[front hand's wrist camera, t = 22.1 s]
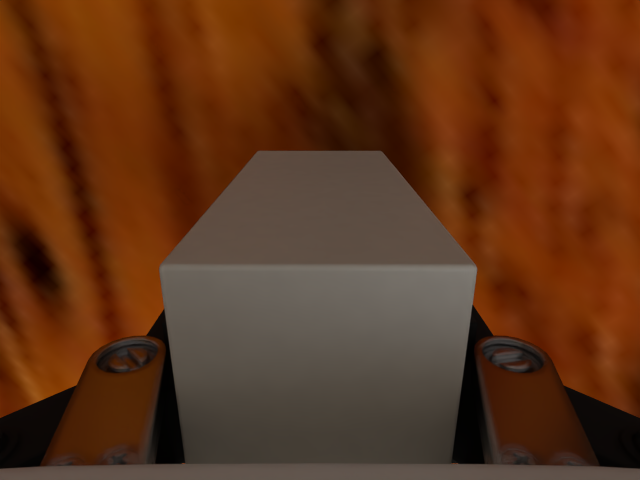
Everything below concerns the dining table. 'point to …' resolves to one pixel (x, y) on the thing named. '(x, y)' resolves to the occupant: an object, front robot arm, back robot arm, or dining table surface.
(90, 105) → the dining table surface
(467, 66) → the dining table surface
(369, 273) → the brick
